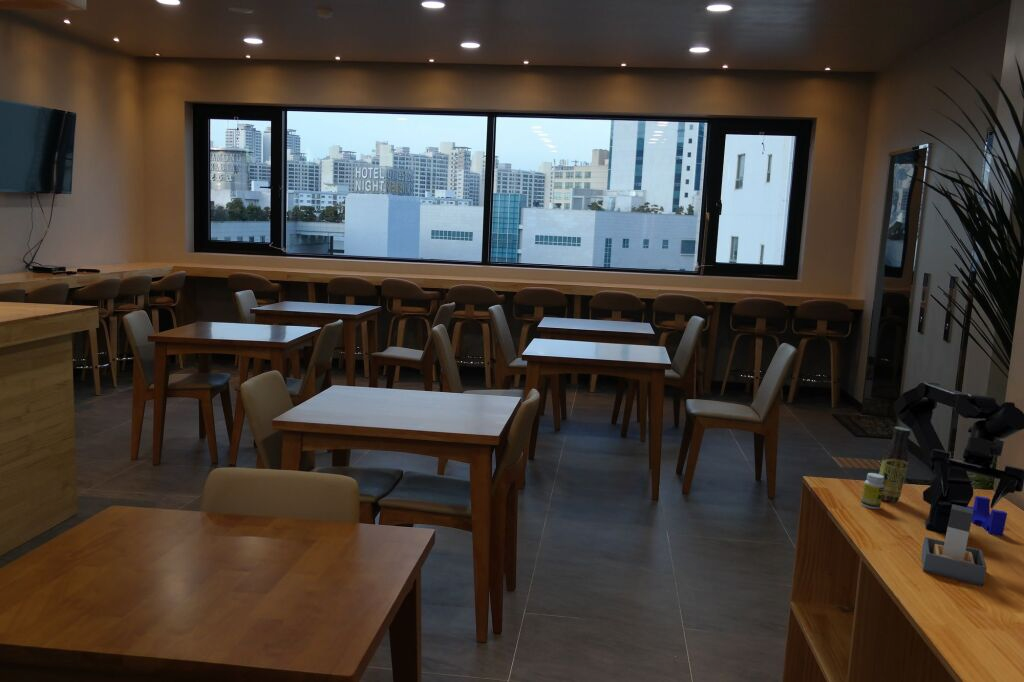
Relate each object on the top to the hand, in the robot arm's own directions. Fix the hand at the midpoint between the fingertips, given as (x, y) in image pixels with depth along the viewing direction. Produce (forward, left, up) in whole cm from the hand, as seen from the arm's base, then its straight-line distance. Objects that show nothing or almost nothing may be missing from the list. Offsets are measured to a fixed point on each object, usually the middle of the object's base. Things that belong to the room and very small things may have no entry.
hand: (967, 501), depth 180 cm
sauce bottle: (-36, -14, -14) cm, 42 cm away
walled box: (+8, -1, -14) cm, 16 cm away
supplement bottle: (-26, -18, -14) cm, 35 cm away
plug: (+8, -1, -13) cm, 15 cm away
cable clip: (-32, +8, -14) cm, 36 cm away
